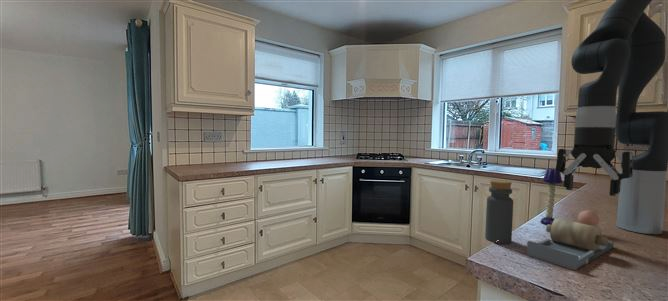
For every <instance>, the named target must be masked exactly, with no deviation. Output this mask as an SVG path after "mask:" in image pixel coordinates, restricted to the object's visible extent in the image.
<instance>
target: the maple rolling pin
mask: <svg viewBox="0 0 668 301" xmlns="http://www.w3.org/2000/svg"><path fill="white" fill-rule="evenodd" d="M554 219H555V220H554V221H553V223H552V225H551V224H548V225H546V228H545V230H546V233H549V235H550V240H552V241H555V242H558V243H562V244H566V245H570V246H574V247H577V248H581V249H585V250H589V251H590V250H592V251H594V252H595V251H597V250H598V249H599V247H600V245H602V246H607V243H608V242H609V240H608V239H609V238H608V237H607V236H603V235H602V229H601V227H600V226H598V227H596V226H597V225H596V226H591V225H587V224H582V223H580V222H576V221H572V220H567V219H562V218H558V217H557V218H554Z"/></svg>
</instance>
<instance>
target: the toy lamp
mask: <svg viewBox="0 0 668 301" xmlns="http://www.w3.org/2000/svg"><path fill="white" fill-rule="evenodd" d="M542 182H544V183H548V193H547V196H548V197H547V199H546V201H547V203H546V213H545V217H542V218H541V219H540V223H541V224H542V225H546V226H547V225H548V224H551V225H552V223H553V221H554V220H555V219H556V218H553V216H554V214H553V213H554V207H555V204H554V203H555V197H556V193H555V192H556V186H557V184H558V185H559V184H560V185H561V184H563V179H562V173H561V172H558V171H556V167H555V168H553V167H552V168H551V167H550V168H549V167H548V168H547V169H546V171H545V174H544V176H543V178H542Z"/></svg>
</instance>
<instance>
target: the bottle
mask: <svg viewBox="0 0 668 301" xmlns="http://www.w3.org/2000/svg"><path fill="white" fill-rule="evenodd" d="M489 182H490V187H488V192H490V195H488V196H487V198H486V210H485V211H486V212H485V231H484V232H485V240H486V241H488V242H491V243H494V242H495V243H494V244H497V243H498V244H499V245H508V244H509V245H510V244H511V243H512V238H513V237H512V236H513V221H514V220H513V219H514V200H513V198H511V196H510V195H511V194H513V189H512V188H511V186H512V181H509V180H502V179H491V180H490V181H489ZM497 240H499V241H497ZM496 241H497V242H496Z"/></svg>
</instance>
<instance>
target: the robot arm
mask: <svg viewBox="0 0 668 301" xmlns="http://www.w3.org/2000/svg"><path fill="white" fill-rule="evenodd" d="M651 2H653V0H615V1H614V2H613V3H612V5H610V6H609V7H608V8H607V9H606V11H605V12H604V13H603V16H602V17H601V19H600V21H599V23H598V25H597V26H596V28H595V29H594V30H593V31H592V32H591V33H590V34H589V35H587V37H585V39H584V40H583V41H581V42H580V44H579V45H577V47H576V49H575V50H574V51H573V54H572V56H571V61H570V63H571V66H572V69H573V70H574V71H575V72H576V73H577V74H580V75H588V74H589V75H590V74H594V73H596V74H597V73H601V74H600V75H599V76H598V78H597V79H594V80H592V81H589V82H586V83H583V84H581V86H580V87H579V89H578V96H577V110H576V114H575V121H574V136H573V137H574V138H573V147H572V149H567V148H559V149H558V150H557V155H556V156H557V157H556V165H555V169H556V171H558V172H560V173H561V174H563V176H564V178H563V188H565V189H566V191H572V190H573V188H574V176H575V175H573V174H574V173H575V172H576V171H577V170H578V169H580V168H581V167H582V168H592V169H602V170H604V172H606V174H608V175H609V177H610V178H611V179H610V184H609V196H612V197H616V196H617V195H618V201H617V204H618V205H617V216H616V227H617V228H620V229H622V230H625V231H629V232H633V233H634V232H635V233H640V234H645V235H646V234H648V235H662V233H663V226H664V217H665V216H664V215H665V202H666V191H667V190H666V188H667V177H668V176H667V175H668V111H665V110H663V111H662V110H661V111H659V110H658V111H637V105H638V100H639V99H640V96H641V94H642V92H643V91H644V90H645V89H646V87H647V86H648V84H649V83H650V82H651V81H652V80H653V78H654V77H655V76H656V74H657V73H658V72H659V71H660V69H661V68H662V66H663V65H664V63H665V61H666V34H665V32H664V31H663V29H662V28H661V27H660V26H659V25H658V24H657V23H656V22H655V21H654V20H653V19H651V18H650V17H649V16H648V15H647V14H646V12H645V10H647V8H648V6H649V5H650V4H651ZM617 93H618V94H617ZM617 95H618V96H617ZM616 106H617V107H616ZM615 139H617V141H618V142H619V143H620V144H622V145H635V146H637V145H638V146H641V145H642V146H648V149H647V150H645V151H644V152H642V153H639V154H635V155H633V152H632V151H621V152H619V151H616V149H615V142H616V141H615ZM570 155H571V156H572V158H573V159H574V160H573V162H571V163H570V164H569V166H568V167H567V168H566V165H567V158H569V157H570ZM615 158H617V159H618V161H620V169H619V170H620V171H618V169H617V168H616V167H615V166H614V164H613V163H612V161H613V160H614V159H615Z"/></svg>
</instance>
